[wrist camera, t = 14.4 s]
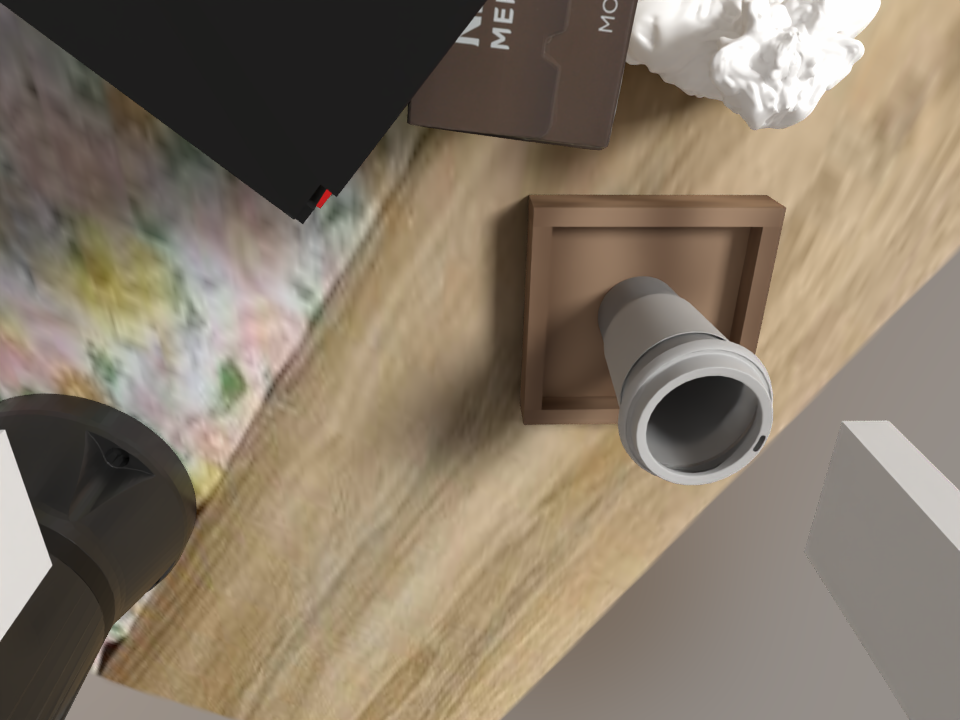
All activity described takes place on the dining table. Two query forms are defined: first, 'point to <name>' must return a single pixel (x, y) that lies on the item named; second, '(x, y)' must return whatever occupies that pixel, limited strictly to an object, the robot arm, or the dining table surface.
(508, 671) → the dining table surface
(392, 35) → the electrical component
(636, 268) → the tray
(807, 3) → the white lumpy piece
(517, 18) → the coffee box
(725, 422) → the cup
